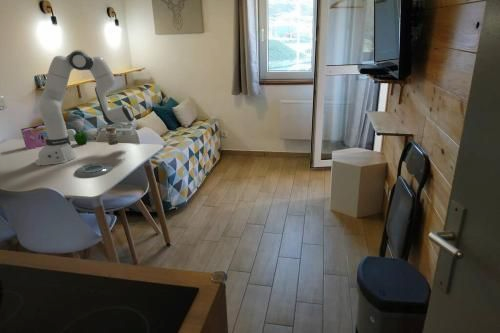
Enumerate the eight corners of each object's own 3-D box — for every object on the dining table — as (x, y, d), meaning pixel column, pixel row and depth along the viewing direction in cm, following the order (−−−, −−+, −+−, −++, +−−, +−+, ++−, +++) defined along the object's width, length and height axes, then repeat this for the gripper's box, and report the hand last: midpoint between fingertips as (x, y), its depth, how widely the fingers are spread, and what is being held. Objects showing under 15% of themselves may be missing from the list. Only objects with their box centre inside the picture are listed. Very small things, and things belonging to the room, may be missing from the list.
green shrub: (86, 145, 246) (83, 131, 242) (74, 146, 245) (71, 132, 242) (90, 141, 254) (87, 128, 250) (78, 142, 253) (75, 129, 250)
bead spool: (109, 145, 209) (106, 129, 205) (108, 143, 214) (105, 127, 210) (118, 144, 211) (116, 128, 208) (117, 141, 216) (115, 125, 212)
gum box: (61, 139, 262) (56, 121, 257) (65, 141, 257) (60, 123, 252) (25, 147, 247) (20, 128, 242) (28, 149, 241) (23, 130, 236)
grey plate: (75, 180, 188) (74, 177, 187) (74, 168, 204) (73, 165, 204) (114, 173, 196) (113, 170, 195) (110, 162, 212) (110, 159, 212)
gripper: (105, 124, 223) (94, 129, 210) (136, 124, 220) (126, 130, 207) (107, 133, 225) (96, 139, 212) (137, 134, 222) (127, 140, 209)
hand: (111, 135), depth 210 cm, fingers closed on bead spool, 5 cm apart
